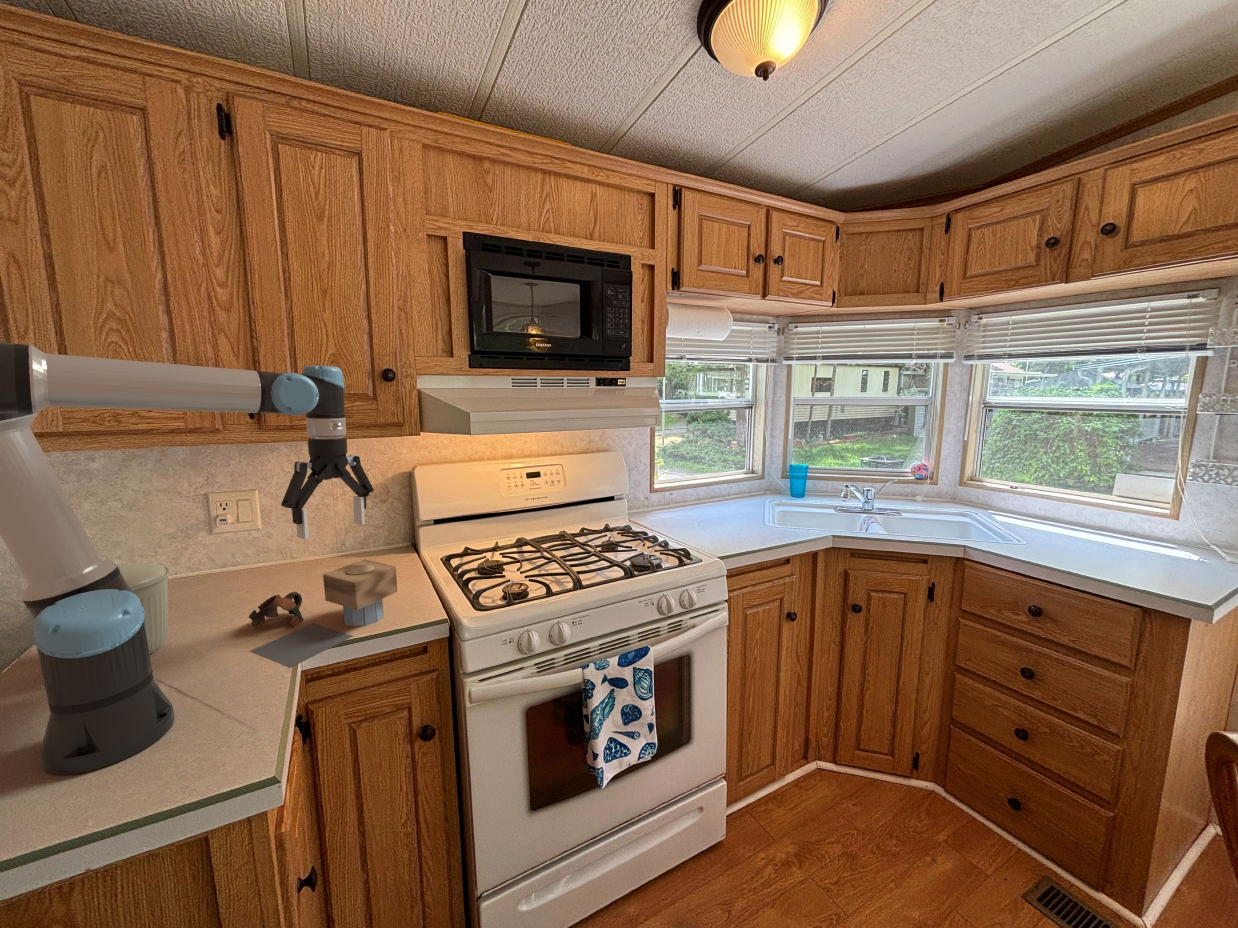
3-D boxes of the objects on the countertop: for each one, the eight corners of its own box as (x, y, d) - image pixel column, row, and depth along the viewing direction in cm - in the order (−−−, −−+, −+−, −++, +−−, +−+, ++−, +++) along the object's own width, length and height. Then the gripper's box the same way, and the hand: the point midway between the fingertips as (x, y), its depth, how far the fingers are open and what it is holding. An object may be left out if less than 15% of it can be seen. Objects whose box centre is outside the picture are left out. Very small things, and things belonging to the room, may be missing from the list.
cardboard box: (357, 609, 114) (354, 581, 113) (325, 600, 119) (322, 573, 118) (397, 591, 124) (395, 565, 123) (366, 583, 129) (364, 558, 128)
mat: (290, 669, 102) (290, 667, 102) (249, 652, 108) (249, 650, 108) (353, 637, 114) (353, 635, 114) (313, 624, 120) (313, 622, 120)
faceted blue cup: (361, 630, 117) (359, 606, 116) (336, 622, 121) (333, 599, 120) (391, 615, 125) (389, 592, 124) (367, 608, 128) (365, 586, 127)
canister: (169, 663, 103) (154, 565, 100) (43, 690, 95) (21, 583, 91) (190, 626, 119) (177, 539, 115) (83, 645, 110) (66, 552, 107)
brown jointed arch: (291, 637, 115) (265, 611, 112) (260, 650, 117) (234, 625, 114) (321, 602, 126) (298, 577, 123) (292, 614, 128) (270, 591, 125)
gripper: (279, 443, 99) (287, 547, 102) (387, 434, 122) (390, 520, 125) (256, 440, 103) (264, 542, 106) (365, 432, 125) (369, 516, 128)
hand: (332, 530), depth 115 cm, fingers open, 13 cm apart
